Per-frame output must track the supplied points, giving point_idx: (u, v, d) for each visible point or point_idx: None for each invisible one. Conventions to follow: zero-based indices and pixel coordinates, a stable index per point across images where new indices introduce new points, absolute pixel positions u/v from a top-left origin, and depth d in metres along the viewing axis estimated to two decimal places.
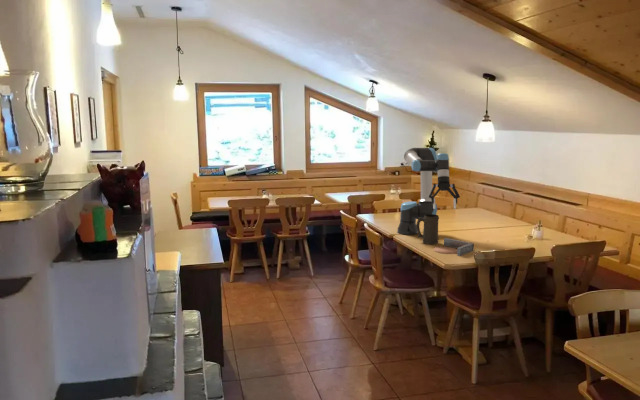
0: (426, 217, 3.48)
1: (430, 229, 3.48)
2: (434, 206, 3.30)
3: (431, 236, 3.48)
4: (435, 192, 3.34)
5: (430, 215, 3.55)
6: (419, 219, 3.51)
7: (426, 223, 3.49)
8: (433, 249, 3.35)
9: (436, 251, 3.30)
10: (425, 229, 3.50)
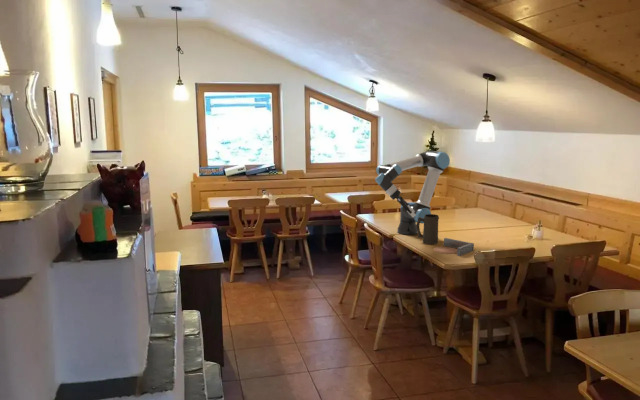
0: (426, 217, 3.48)
1: (430, 229, 3.48)
2: None
3: (431, 236, 3.48)
4: (404, 200, 3.57)
5: (430, 215, 3.55)
6: (419, 219, 3.51)
7: (426, 223, 3.49)
8: (433, 249, 3.35)
9: (436, 251, 3.30)
10: (425, 229, 3.50)
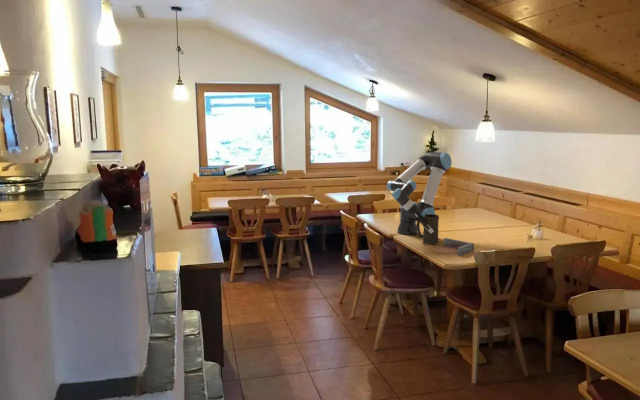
0: (426, 217, 3.48)
1: None
2: None
3: (431, 236, 3.48)
4: (422, 216, 3.56)
5: (430, 215, 3.55)
6: None
7: None
8: (433, 249, 3.35)
9: (436, 251, 3.30)
10: (425, 229, 3.50)
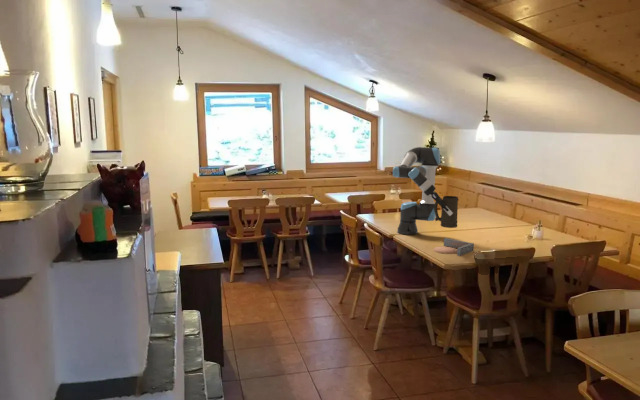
0: (445, 198, 3.26)
1: None
2: None
3: (450, 218, 3.25)
4: (440, 198, 3.34)
5: (449, 197, 3.32)
6: None
7: None
8: (433, 249, 3.35)
9: (436, 251, 3.30)
10: (443, 211, 3.27)
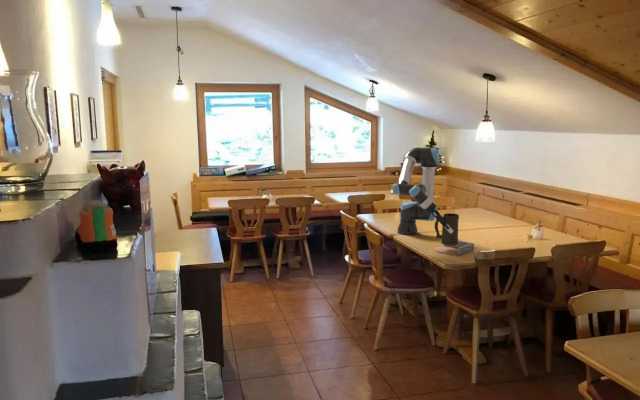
0: (445, 216, 3.27)
1: None
2: None
3: (451, 236, 3.26)
4: (440, 215, 3.35)
5: (449, 214, 3.33)
6: None
7: None
8: (433, 249, 3.35)
9: (436, 251, 3.30)
10: (444, 229, 3.28)
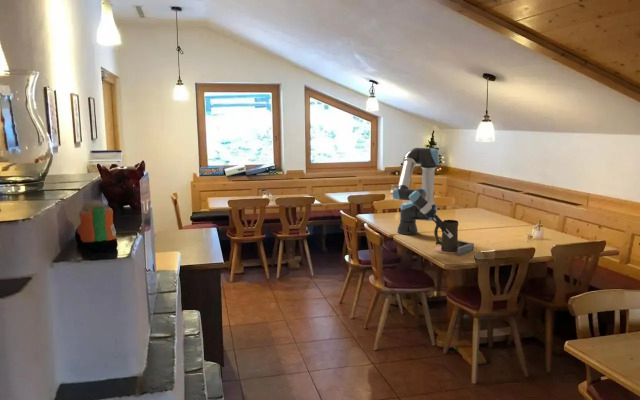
0: (445, 223, 3.28)
1: None
2: None
3: (450, 243, 3.28)
4: (440, 220, 3.36)
5: (449, 221, 3.34)
6: (437, 225, 3.31)
7: None
8: (433, 249, 3.35)
9: (436, 251, 3.30)
10: (444, 236, 3.29)
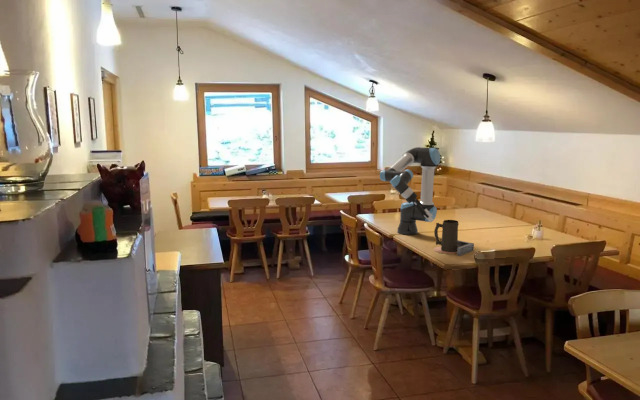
0: (445, 223, 3.28)
1: (449, 236, 3.27)
2: None
3: (450, 243, 3.28)
4: (421, 204, 3.37)
5: (449, 221, 3.34)
6: (437, 225, 3.31)
7: (445, 229, 3.28)
8: (433, 249, 3.35)
9: (436, 251, 3.30)
10: (444, 236, 3.29)
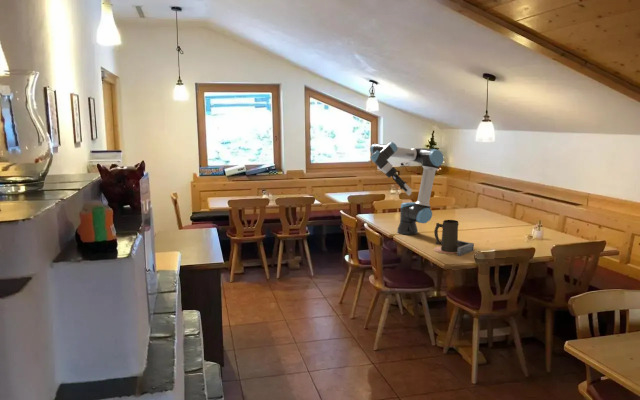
0: (445, 223, 3.28)
1: (449, 236, 3.27)
2: None
3: (450, 243, 3.28)
4: (400, 179, 3.49)
5: (449, 221, 3.34)
6: (437, 225, 3.31)
7: (445, 229, 3.28)
8: (433, 249, 3.35)
9: (436, 251, 3.30)
10: (444, 236, 3.29)
